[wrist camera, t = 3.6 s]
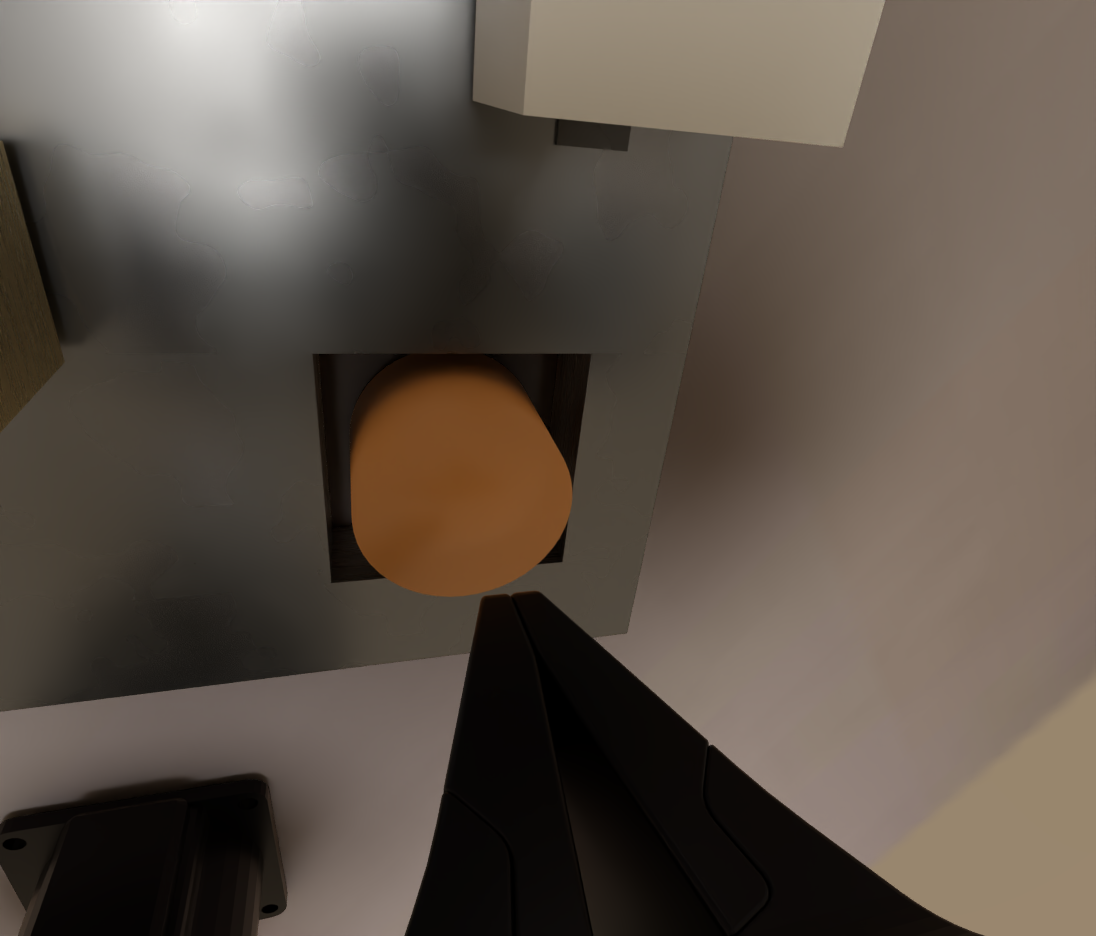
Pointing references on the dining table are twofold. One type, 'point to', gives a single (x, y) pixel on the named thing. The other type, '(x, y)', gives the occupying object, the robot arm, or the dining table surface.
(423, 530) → the orange push button
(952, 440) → the dining table surface
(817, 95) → the beige block
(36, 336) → the tan block
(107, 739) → the dining table surface
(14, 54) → the plate
